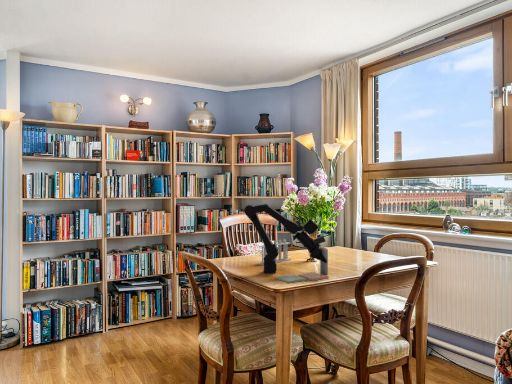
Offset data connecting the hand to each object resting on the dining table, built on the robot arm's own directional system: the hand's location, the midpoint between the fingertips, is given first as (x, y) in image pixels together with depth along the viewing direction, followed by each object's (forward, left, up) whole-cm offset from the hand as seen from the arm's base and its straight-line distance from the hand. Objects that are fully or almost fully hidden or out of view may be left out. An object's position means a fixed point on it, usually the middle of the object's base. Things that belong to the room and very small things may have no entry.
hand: (326, 261), depth 212 cm
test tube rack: (-26, +35, -7) cm, 44 cm away
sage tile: (-20, -13, -7) cm, 25 cm away
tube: (-1, 0, -7) cm, 7 cm away
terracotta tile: (-8, -8, -7) cm, 13 cm away
